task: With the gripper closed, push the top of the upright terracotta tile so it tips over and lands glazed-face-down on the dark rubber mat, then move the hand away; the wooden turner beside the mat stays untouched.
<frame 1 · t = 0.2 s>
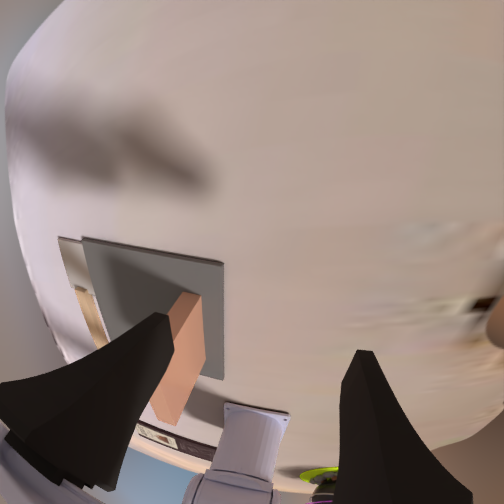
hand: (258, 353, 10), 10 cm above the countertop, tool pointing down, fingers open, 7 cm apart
turner: (91, 307, 27), on the countertop
mat: (153, 314, 25), on the countertop
tile: (195, 329, 24), resting on mat
chocolate bar: (177, 439, 42), on the countertop
toy cauldron: (336, 475, 39), on the countertop
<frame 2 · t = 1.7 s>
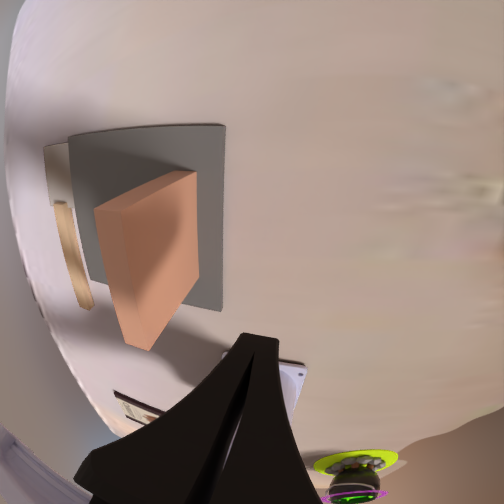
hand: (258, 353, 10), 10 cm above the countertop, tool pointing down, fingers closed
turner: (70, 229, 23), on the countertop
mat: (138, 218, 20), on the countertop
tile: (186, 227, 19), resting on mat
chocolate bar: (169, 420, 37), on the countertop
toy cauldron: (356, 462, 34), on the countertop
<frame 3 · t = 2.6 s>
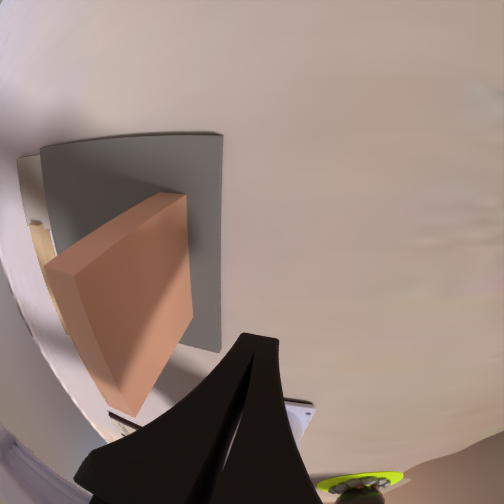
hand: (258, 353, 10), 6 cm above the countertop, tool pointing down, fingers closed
turner: (49, 252, 19), on the countertop
mat: (120, 246, 17), on the countertop
tile: (176, 260, 15), resting on mat
chocolate bar: (166, 441, 34), on the countertop
toy cauldron: (360, 482, 31), on the countertop
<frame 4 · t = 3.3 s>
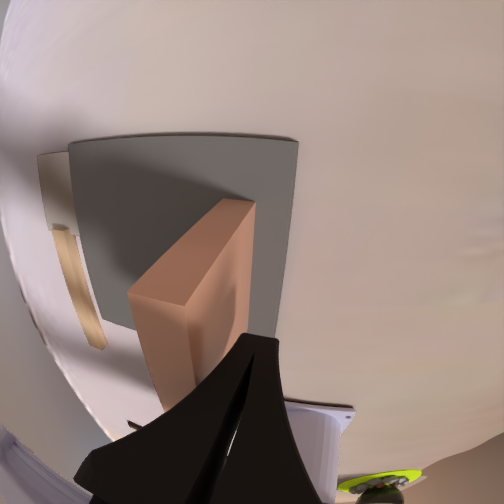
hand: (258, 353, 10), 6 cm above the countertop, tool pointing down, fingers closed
turner: (74, 259, 18), on the countertop
mat: (166, 254, 16), on the countertop
tile: (236, 271, 15), resting on mat, touching gripper
toy cauldron: (379, 481, 30), on the countertop
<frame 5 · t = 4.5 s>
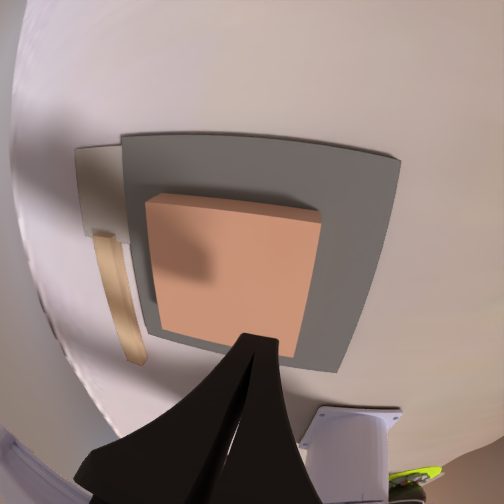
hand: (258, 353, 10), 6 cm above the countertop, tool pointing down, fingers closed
turner: (117, 270, 18), on the countertop
mat: (243, 267, 15), on the countertop
tile: (307, 293, 13), point 1 cm above the countertop, tilted 90°, touching mat
toy cauldron: (402, 479, 29), on the countertop
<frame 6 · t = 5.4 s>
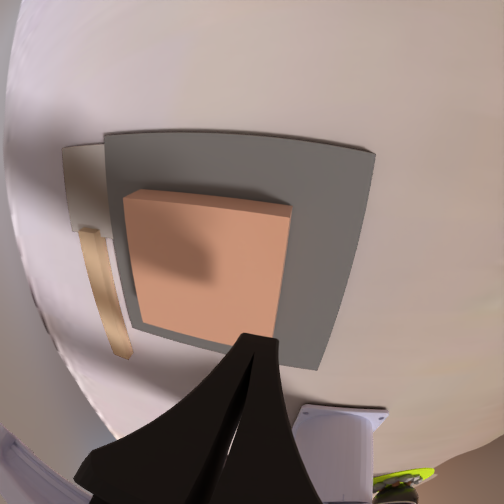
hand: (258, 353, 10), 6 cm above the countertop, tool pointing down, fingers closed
turner: (102, 264, 18), on the countertop
mat: (219, 262, 15), on the countertop
tile: (280, 288, 14), point 1 cm above the countertop, tilted 90°, touching mat
toy cauldron: (394, 480, 30), on the countertop
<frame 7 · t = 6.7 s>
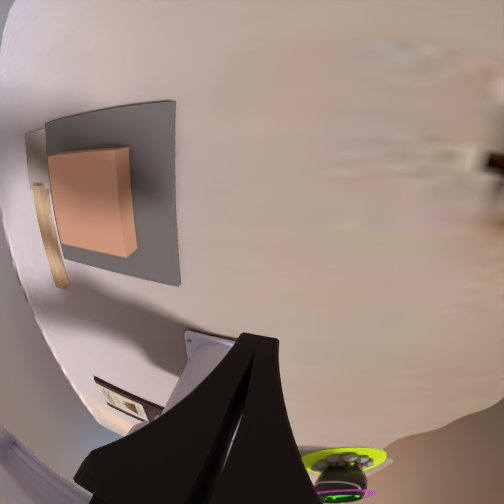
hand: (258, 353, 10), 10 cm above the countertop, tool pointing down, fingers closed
turner: (47, 210, 22), on the countertop
mat: (102, 195, 20), on the countertop
tile: (125, 203, 18), point 1 cm above the countertop, tilted 90°, touching mat
chocolate bar: (147, 408, 37), on the countertop
toy cauldron: (343, 460, 34), on the countertop
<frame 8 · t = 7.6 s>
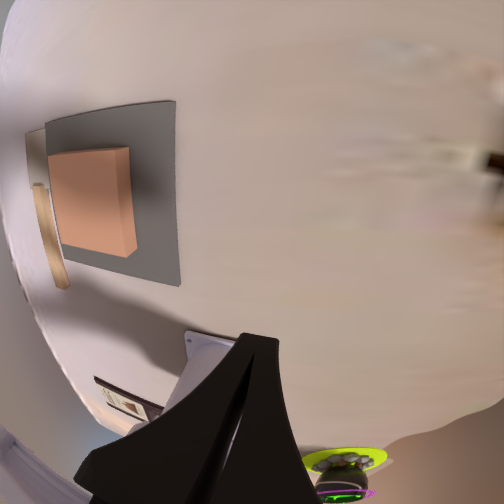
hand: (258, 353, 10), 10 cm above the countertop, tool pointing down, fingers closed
turner: (47, 210, 22), on the countertop
mat: (102, 195, 20), on the countertop
tile: (125, 203, 18), point 1 cm above the countertop, tilted 90°, touching mat
chocolate bar: (148, 408, 37), on the countertop
toy cauldron: (343, 460, 34), on the countertop
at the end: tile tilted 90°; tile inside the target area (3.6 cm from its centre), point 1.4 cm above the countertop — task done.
